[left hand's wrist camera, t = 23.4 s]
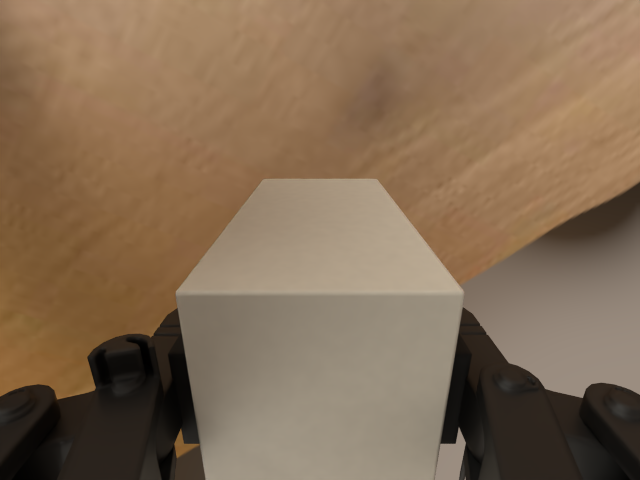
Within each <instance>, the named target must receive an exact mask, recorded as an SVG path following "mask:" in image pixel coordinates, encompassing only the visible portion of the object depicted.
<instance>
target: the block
mask: <svg viewBox="0 0 640 480" xmlns="http://www.w3.org/2000/svg"><path fill="white" fill-rule="evenodd" d="M464 296H465V293H464V291H463V289H462V288H461V287H460V286H459V284H458V283H457V282H456V280H455V279H454V278H453V276H452V275H451V274H450V273H449V271H448V270H447V269H446V267H445V266H444V265H443V264H442V262H441V261H440V260H439V258H438V257H437V256H436V255H435V253H434V252H433V251H432V249H431V248H430V247H429V245H428V244H427V243H426V242H425V240H424V239H423V238H422V236H421V235H420V234H419V233H418V231H417V230H416V229H415V227H414V226H413V225H412V224H411V222H410V221H409V220H408V218H407V217H406V216H405V215H404V213H403V212H402V211H401V209H400V208H399V207H398V205H397V204H396V203H395V202H394V200H393V199H392V198H391V196H390V195H389V194H388V193H387V191H386V190H385V189H384V187H383V186H382V185H381V184H380V182H379V181H378V180H377V179H263V180H262V181H261V183H260V184H259V185H258V186H257V188H256V189H255V190H254V192H253V193H252V194H251V196H250V197H249V198H248V199H247V201H246V202H245V203H244V205H243V206H242V207H241V208H240V210H239V211H238V212H237V214H236V215H235V216H234V217H233V219H232V220H231V221H230V223H229V224H228V225H227V226H226V228H225V229H224V230H223V232H222V233H221V234H220V235H219V237H218V238H217V239H216V241H215V242H214V243H213V245H212V246H211V247H210V248H209V250H208V251H207V252H206V254H205V255H204V256H203V257H202V259H201V260H200V261H199V263H198V264H197V265H196V266H195V268H194V269H193V270H192V272H191V273H190V274H189V275H188V277H187V278H186V279H185V281H184V282H183V283H182V285H181V286H180V287H179V288H178V290H177V291H176V301H177V307H178V313H179V319H180V325H181V331H182V337H183V343H184V350H185V356H186V362H187V368H188V374H189V380H190V386H191V392H192V398H193V405H194V411H195V417H196V423H197V429H198V435H199V441H200V447H201V453H202V460H203V466H204V472H205V478H206V480H434V479H435V473H436V467H437V461H438V455H439V449H440V443H441V437H442V431H443V424H444V418H445V412H446V406H447V400H448V394H449V388H450V382H451V376H452V370H453V363H454V357H455V351H456V345H457V339H458V333H459V327H460V321H461V315H462V309H463V302H464Z"/></svg>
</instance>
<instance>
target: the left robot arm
mask: <svg viewBox="0 0 640 480" xmlns="http://www.w3.org/2000/svg"><path fill="white" fill-rule="evenodd" d="M87 358H88V361H89V365H90V368H91V372H92V376H93V379H94V383H95V386H96V389H95V391H92V392H89V393H85V394H80V395H76V396H72V397H67V398H63V399H58V400H57V398H56V395H55V392H54V390H53V389H52V388H51V387H49V386H46V385H39V384H38V385H31V386H25V387H22V388H19V389H15V390H13V391H10V392H8V393H6V394H5V395H3V396H1V397H0V480H174V477H175V468H176V459H177V458H176V451H175V446H174V443H175V441H176V438H177V436H178V434H179V431H180V429H182V435H183V440H184V444H200V441H199V435H198V429H197V423H196V417H195V411H194V405H193V398H192V392H191V386H190V380H189V374H188V368H187V362H186V356H185V350H184V343H183V337H182V331H181V325H180V319H179V313H178V308H177V309H175V310H174V311H173V312H171V313H170V314H168V315H167V316H166V318H165V319H164V320H163V322H162V323H161V325H160V327H158V329H157V330H156V331H155V333H154V336H152V337H151V338H150V337H149V336H147V335H143V334H127V335H123V336H119V337H115V338H113V339H110V340H108V341H106V342H104V343H102V344H101V345H99V346H98V347H96V348H95V349H94V350H93V351H92V352H91V353H90V354H89V356H88V357H87ZM458 428H460V430H461V432H462V435H463V437H464V439H465V442H466V446H465V451H464V456H463V461H462V466H461V471H460V477H459V480H464V479H465V477H466V480H640V395H639V394H637V393H635V392H633V391H631V390H629V389H627V388H623V387H621V386H617V385H613V384H606V383H597V384H591V385H590V386H589V387H588V388H587V389H586V391H585V394H584V397H583V398H579V397H575V396H571V395H566V394H562V393H558V392H553V391H550V390H546V389H545V388H544V386H543V385H542V383H541V382H540V381H539V379H538V378H536V377H535V376H534V375H533V374H531V373H530V372H529V371H527V370H525V369H523V368H521V367H519V366H516V365H513V364H509V363H508V362H507V360H506V359H505V358H504V356H503V355H502V353H501V352H500V351H499V349H498V348H497V347H496V345H495V344H494V343H493V341H492V340H491V338H490V337H489V336H488V335H486V332H485V330H484V329H483V328H482V326H480V323H479V322H478V321H477V319H476V318H475V317H474V315H473V314H472V313H471V312H469V311H467V310H466V309H465V308H463V309H462V315H461V321H460V327H459V333H458V339H457V345H456V351H455V357H454V363H453V370H452V376H451V382H450V388H449V394H448V400H447V406H446V412H445V418H444V424H443V431H442V437H441V443H440V444H455V443H456V439H457V433H458Z"/></svg>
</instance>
